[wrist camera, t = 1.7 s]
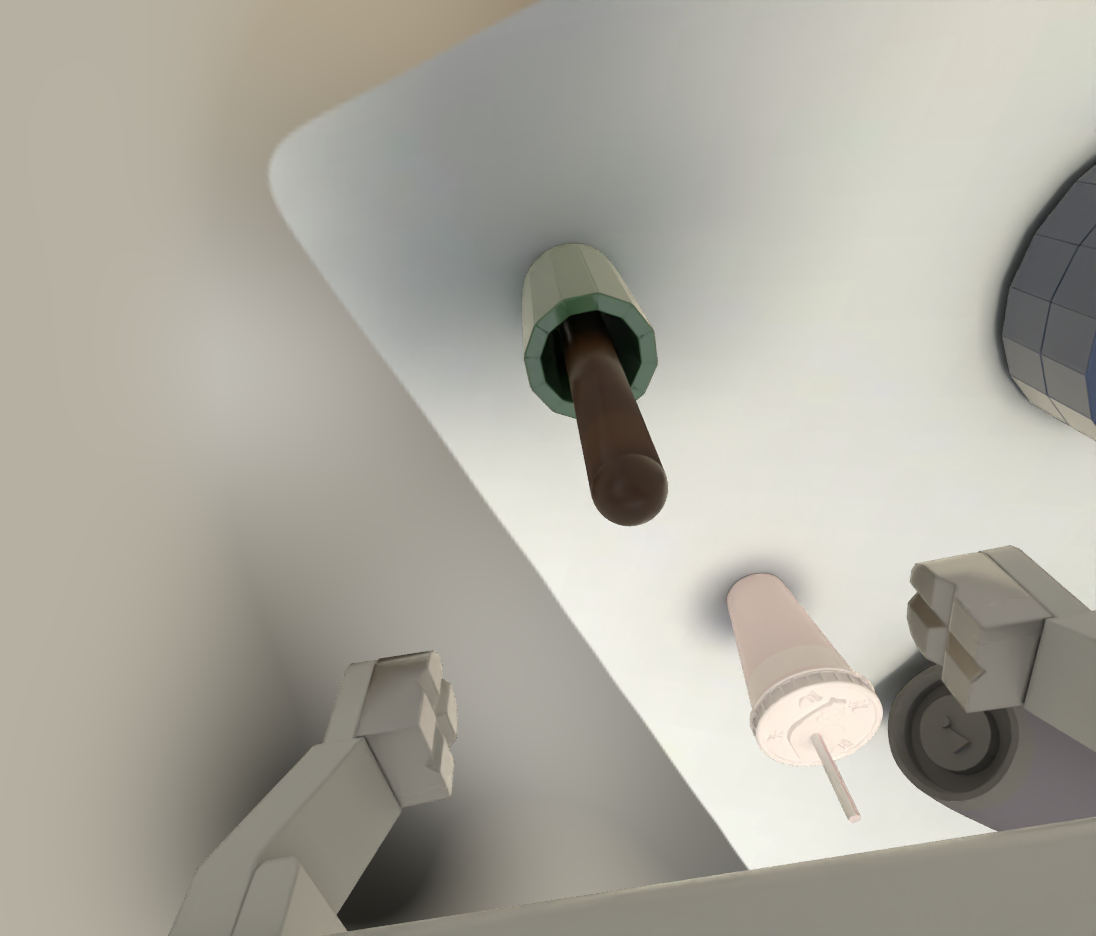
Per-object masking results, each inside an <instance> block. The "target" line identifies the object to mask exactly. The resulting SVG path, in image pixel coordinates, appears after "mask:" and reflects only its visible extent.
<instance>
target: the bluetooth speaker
mask: <svg viewBox="0 0 1096 936" xmlns="http://www.w3.org/2000/svg"><path fill="white" fill-rule="evenodd" d="M942 672H943V667H941V666H939V665H933V666H931V667H929V668H927V669H925V670H923V671H922V672H920V673H919V674H918V675H916V676H915V677H914V678H912V679H911V680H910V681H909V682H908V683H907V684H906V685H905V686H904V687H903V688H902V689H901V690H900V692H899V693H898V694H897V696H896V698H895V700H894V702H893V704H892V706H891V710H890V714H889V720H888V737H889V744H890V748H891V752H892V755H893V757H894V759H895V761H896V763H897V765H898V767H899V768H900V770H901V771H902V772H903V774H904V775H905V776H906V777H907V778H908V779H909V780H910V781H911V782H912V783H913V784H914V785H915V786H916V787H917V788H918V789H920V790H921V791H923V792H924V793H925V794H927V795H928V796H930V797H932V798H933V799H935V800H936V801H938V802H940V803H941V804H943V805H945V806H947V807H948V808H950V809H952V810H954V811H956V812H958V813H960V814H962V815H964V816H966V817H968V818H970V819H972V820H974V821H977V822H979V823H981V824H983V825H985V826H987V827H989V828H991V829H994V830H996V831H998V832H999V831H1006V830H1012V829H1019V828H1025V827H1032V826H1038V825H1045V824H1051V823H1058V822H1064V821H1071V820H1077V819H1084V818H1090V817H1096V752H1094V751H1093V750H1091V749H1089V748H1088V747H1086V746H1084V745H1083V744H1081V743H1079V742H1078V741H1076V740H1075V739H1073V738H1071V737H1070V736H1068V735H1066V734H1065V733H1063V732H1061V731H1060V730H1058V729H1057V728H1055V727H1053V726H1052V725H1050V724H1048V723H1047V722H1045V721H1043V720H1042V719H1040V718H1039V717H1037V716H1035V715H1034V714H1032V713H1030V712H1029V711H1027V710H1025V709H1024V708H1023V707H1024V705H1022V706H1015V707H1008V708H1001V709H993V710H986V711H979V712H971V713H966V712H965V710H964V709H963V708H962V706H961V705H960V704H959V702H958V701H957V700H956V698H955V697H954V696H953V695H952V693H951V692H950V691H949V689H948V688H947V687H946V685H945V684H944V683H943V681H942V680H941V679H942Z"/></svg>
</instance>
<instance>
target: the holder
mask: <svg viewBox="0 0 1096 936" xmlns="http://www.w3.org/2000/svg"><path fill="white" fill-rule="evenodd" d="M595 310H597V311H600V314H601V316H602V319H603V321H604V324H605V326H606V329H607V331H608V333H609V336H610V338H611V341H612V343H613V346H614V348H615V351H616V353H617V356H618V358H619V361H620V363H621V366H622V368H623V370H624V373H625V375H626V378H627V380H628V383H629V385H630V388H631V390H632V393H633V395H634V398H635V400H637V399H639V398H640V397H641V396H642V395H643V394H644V393H645V392H646V389H647V387H648V385H649V383H650V380H651V378H652V376H653V374H654V371H655V369H656V367H657V365H658V363H657V362H658V358H657V350H656V341H655V333H654V330H653V328H652V326H651V324H650V323H649V321H648V319H647V318H646V316H645V315H644V313H643V311H642V310H641V308H640V306H639V305H638V303H637V301H636V300H635V298H634V297H633V295H632V293H631V292H630V290H629V288H628V287H627V285H626V283H625V282H624V280H623V279H622V277H621V275H620V274H619V272H618V271H617V270H616V268H615V267H614V266H613V264H612V263H611V262H610V260H609V259H608V258H607V257H606V256H605V255H604V254H603V253H602V252H600V251H598V250H597V249H595V248H593V247H591V246H588V245H584V244H578V243H567V244H562V245H558V246H555V247H553V248H551V249H549V250H547V251H546V252H544V253H543V254H542V255H540V256H539V257H538V258H537V259H536V260H535V261H534V263H533V264H532V265H531V267H530V269H529V271H528V272H527V275H526V277H525V281H524V285H523V291H522V324H523V352H524V362H525V366H526V371H527V375H528V380H529V384H530V387H531V389H532V391H533V392H534V393H535V394H536V395H537V396H538V397H539V398H540V399H541V400H542V401H543V402H544V403H545V404H546V405H547V406H548V407H549V408H550V409H551V410H552V411H553V412H555V413H558V414H562V415H565V416H569V417H572V418H575V419H576V414H575V409H574V404H573V399H572V393H571V388H570V383H569V378H568V373H567V368H566V363H565V358H564V352H563V347H562V342H561V337H560V332H559V327H558V326H559V325H560V324H561V323H562V322H563V321H564V320H565V319H567V318H568V317H569V316H571V315H576V314H580V313H585V312H590V311H595Z"/></svg>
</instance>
